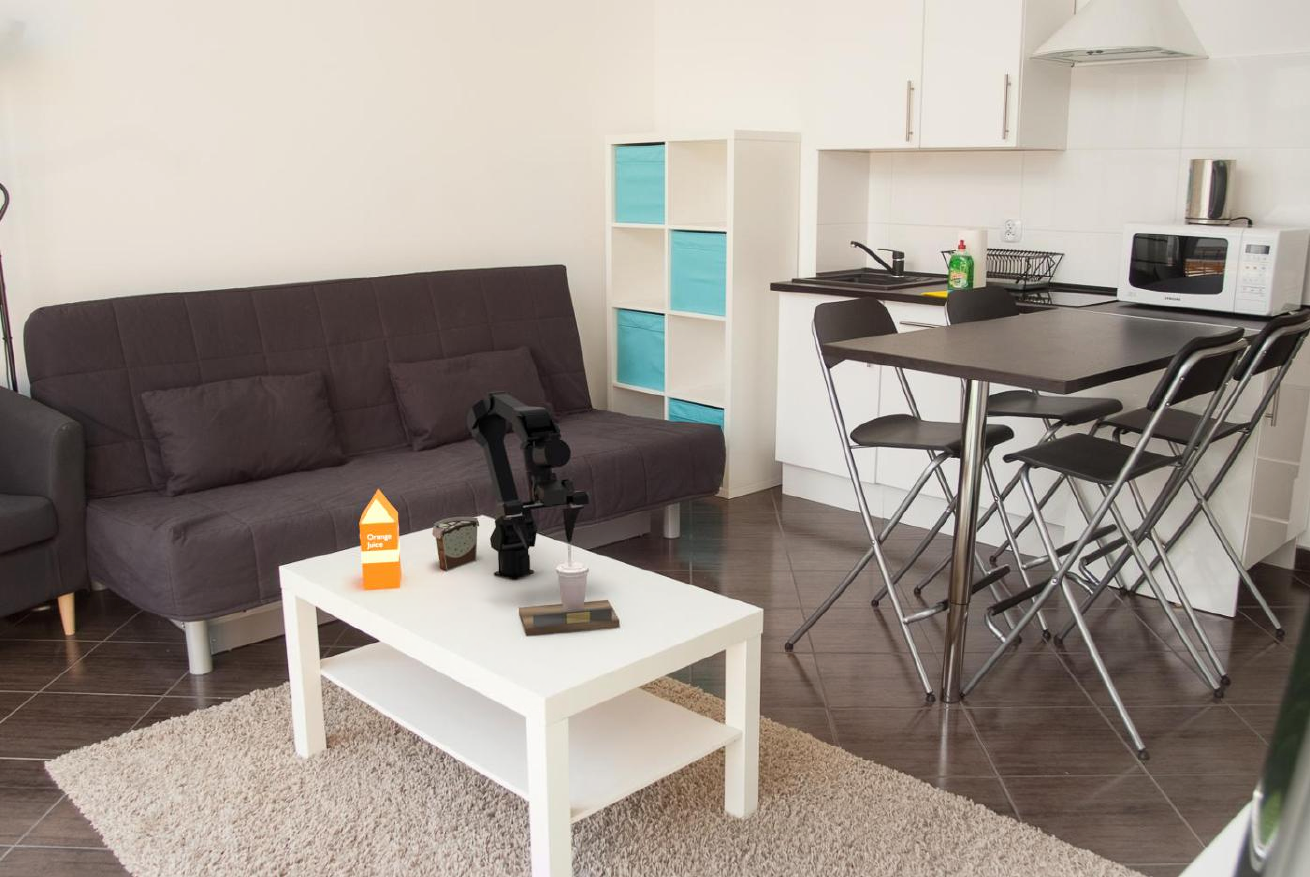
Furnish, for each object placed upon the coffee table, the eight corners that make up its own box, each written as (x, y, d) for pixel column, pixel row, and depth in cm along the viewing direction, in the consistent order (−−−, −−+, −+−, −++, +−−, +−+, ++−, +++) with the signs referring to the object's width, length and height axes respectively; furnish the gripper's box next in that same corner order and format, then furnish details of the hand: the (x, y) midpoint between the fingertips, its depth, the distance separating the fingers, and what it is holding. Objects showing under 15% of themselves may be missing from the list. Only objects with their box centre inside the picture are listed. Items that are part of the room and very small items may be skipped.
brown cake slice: (461, 554, 272) (459, 513, 270) (480, 559, 269) (479, 517, 267) (422, 568, 263) (420, 525, 261) (441, 573, 259) (439, 529, 257)
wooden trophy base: (519, 614, 233) (518, 595, 232) (607, 606, 236) (607, 588, 236) (526, 636, 221) (525, 616, 220) (619, 628, 225) (619, 608, 224)
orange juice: (402, 575, 258) (397, 487, 254) (400, 588, 249) (395, 497, 245) (365, 577, 257) (360, 489, 253) (362, 590, 248) (356, 499, 244)
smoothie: (565, 607, 232) (563, 539, 229) (595, 611, 230) (593, 542, 227) (551, 618, 226) (549, 548, 223) (582, 622, 224) (580, 551, 221)
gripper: (508, 474, 228) (518, 553, 228) (595, 462, 237) (605, 539, 236) (491, 476, 238) (500, 552, 238) (575, 464, 247) (584, 538, 246)
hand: (548, 545), depth 240 cm, fingers open, 9 cm apart
